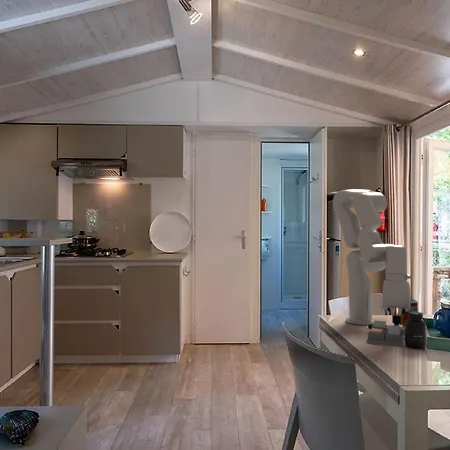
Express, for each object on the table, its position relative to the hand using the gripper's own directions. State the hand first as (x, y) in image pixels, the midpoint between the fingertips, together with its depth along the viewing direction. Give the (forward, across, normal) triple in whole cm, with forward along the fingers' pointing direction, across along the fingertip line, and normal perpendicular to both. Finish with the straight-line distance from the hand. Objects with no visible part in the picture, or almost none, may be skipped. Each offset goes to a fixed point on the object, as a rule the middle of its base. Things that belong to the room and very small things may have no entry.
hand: (396, 325), depth 167 cm
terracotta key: (+3, +6, +10) cm, 12 cm away
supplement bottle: (+4, -7, +13) cm, 16 cm away
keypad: (+4, +3, +5) cm, 7 cm away
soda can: (+4, -4, -13) cm, 14 cm away
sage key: (+1, +6, 0) cm, 6 cm away
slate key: (+1, 0, +10) cm, 10 cm away
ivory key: (+3, 0, 0) cm, 3 cm away
